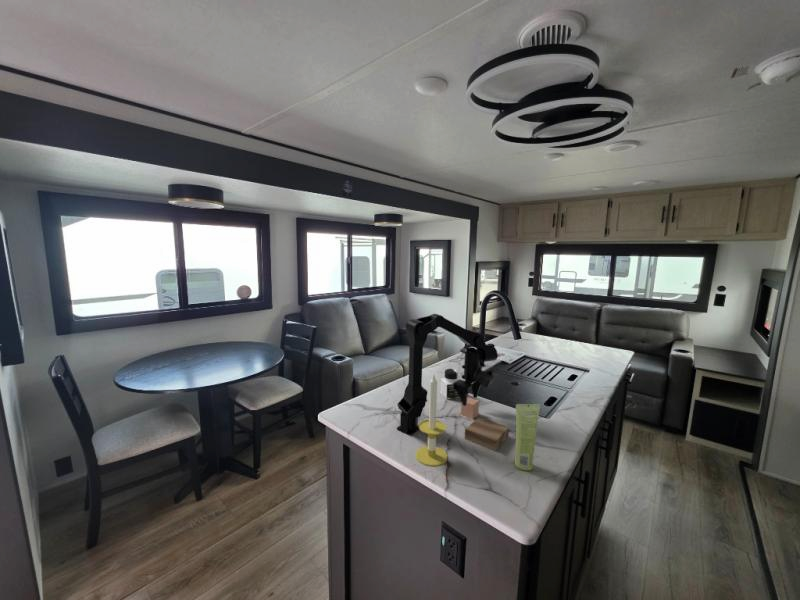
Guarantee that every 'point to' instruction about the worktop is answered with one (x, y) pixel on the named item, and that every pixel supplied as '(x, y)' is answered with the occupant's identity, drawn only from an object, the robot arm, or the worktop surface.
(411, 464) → the worktop surface
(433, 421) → the candle
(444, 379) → the medicine bottle
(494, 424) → the walnut block
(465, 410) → the terracotta block
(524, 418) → the tube
